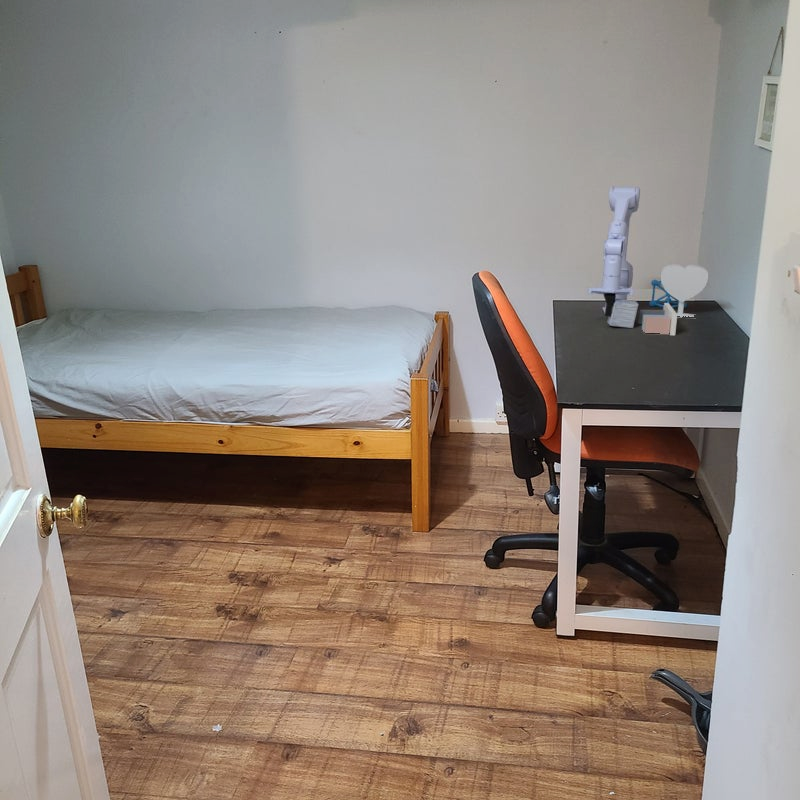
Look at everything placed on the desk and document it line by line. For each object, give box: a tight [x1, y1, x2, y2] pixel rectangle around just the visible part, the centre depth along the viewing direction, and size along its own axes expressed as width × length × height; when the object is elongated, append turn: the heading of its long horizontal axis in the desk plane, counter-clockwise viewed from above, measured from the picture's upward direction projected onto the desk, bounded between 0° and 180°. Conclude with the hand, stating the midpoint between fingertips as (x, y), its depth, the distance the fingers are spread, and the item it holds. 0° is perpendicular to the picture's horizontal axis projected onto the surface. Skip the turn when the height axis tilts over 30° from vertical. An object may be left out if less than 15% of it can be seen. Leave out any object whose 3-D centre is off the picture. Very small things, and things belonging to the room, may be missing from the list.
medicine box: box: [607, 298, 639, 329], centre depth 271 cm, size 8×4×9 cm, turn 91°
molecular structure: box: [648, 279, 688, 309], centre depth 296 cm, size 10×10×10 cm
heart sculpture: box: [660, 263, 709, 318], centre depth 283 cm, size 16×5×18 cm, turn 73°
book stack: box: [637, 302, 678, 336], centre depth 269 cm, size 17×10×7 cm, turn 172°
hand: (608, 315), depth 271 cm, fingers closed, pressing on medicine box
